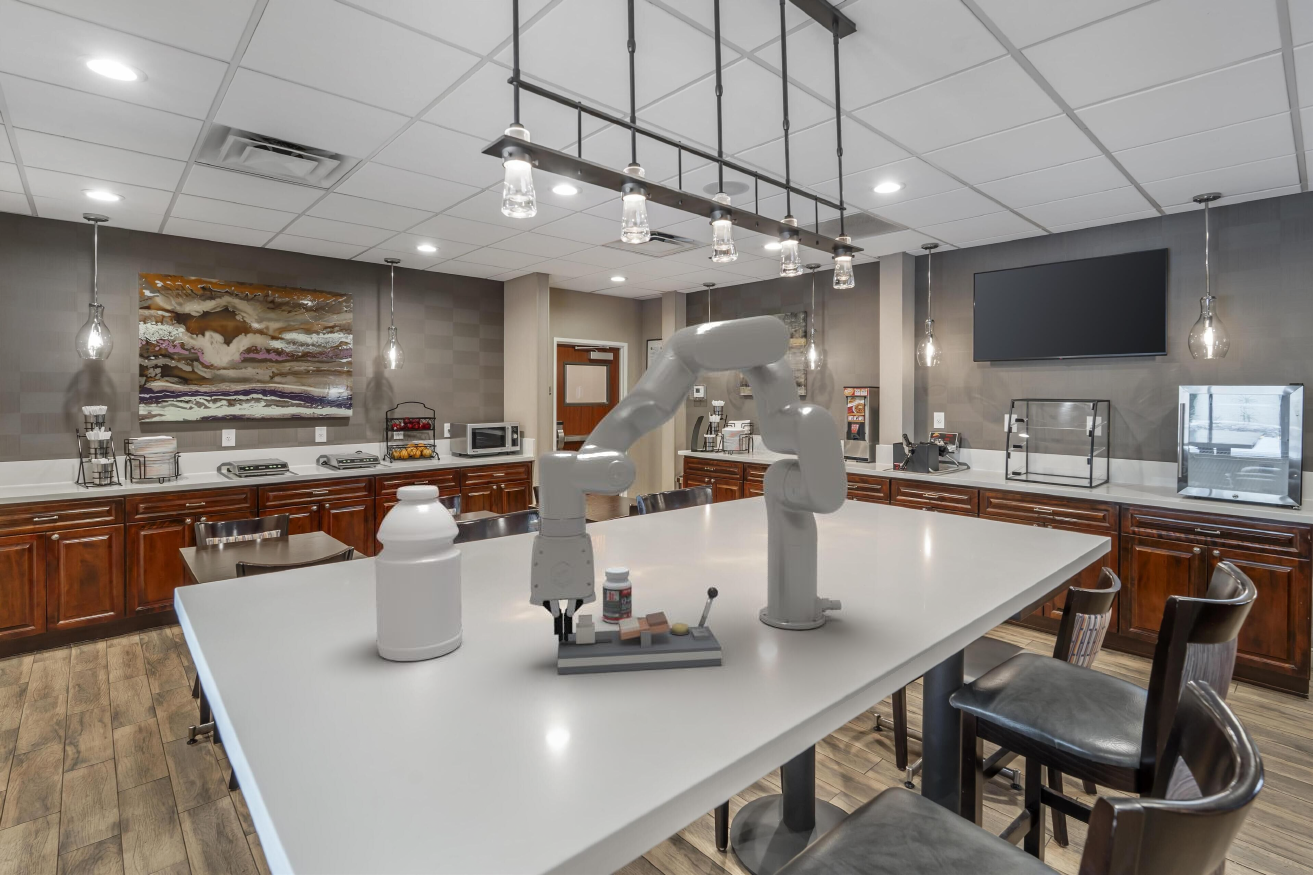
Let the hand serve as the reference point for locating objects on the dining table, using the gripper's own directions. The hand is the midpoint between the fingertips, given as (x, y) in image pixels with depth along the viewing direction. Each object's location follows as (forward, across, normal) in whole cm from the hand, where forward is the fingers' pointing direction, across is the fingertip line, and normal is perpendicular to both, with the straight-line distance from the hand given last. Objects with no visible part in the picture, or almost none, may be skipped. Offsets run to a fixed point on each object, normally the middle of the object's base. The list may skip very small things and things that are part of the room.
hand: (563, 638), depth 103 cm
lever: (0, +23, 0) cm, 23 cm away
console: (+4, +12, 0) cm, 13 cm away
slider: (+1, +4, 0) cm, 4 cm away
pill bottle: (+4, +10, +20) cm, 23 cm away
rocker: (-1, +13, 0) cm, 13 cm away
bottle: (+4, -25, +10) cm, 27 cm away
